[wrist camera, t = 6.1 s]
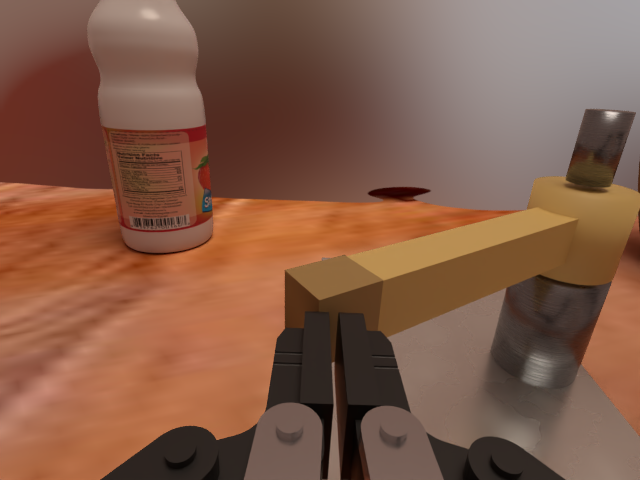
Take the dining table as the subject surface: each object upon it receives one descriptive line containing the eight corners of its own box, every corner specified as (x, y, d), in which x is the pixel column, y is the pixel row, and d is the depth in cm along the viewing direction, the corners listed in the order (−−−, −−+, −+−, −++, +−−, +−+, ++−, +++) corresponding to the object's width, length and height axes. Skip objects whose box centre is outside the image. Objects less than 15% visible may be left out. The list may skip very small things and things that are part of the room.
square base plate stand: (501, 277, 37) (546, 97, 30) (733, 583, 15) (1070, 162, 8) (321, 266, 37) (329, 89, 31) (286, 542, 15) (288, 127, 9)
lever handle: (543, 240, 25) (562, 173, 23) (629, 271, 21) (660, 194, 20) (268, 334, 15) (266, 229, 13) (340, 422, 11) (350, 293, 10)
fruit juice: (109, 234, 43) (48, -83, 32) (189, 216, 49) (161, -55, 38) (144, 264, 37) (83, -115, 26) (230, 239, 43) (211, -76, 32)
